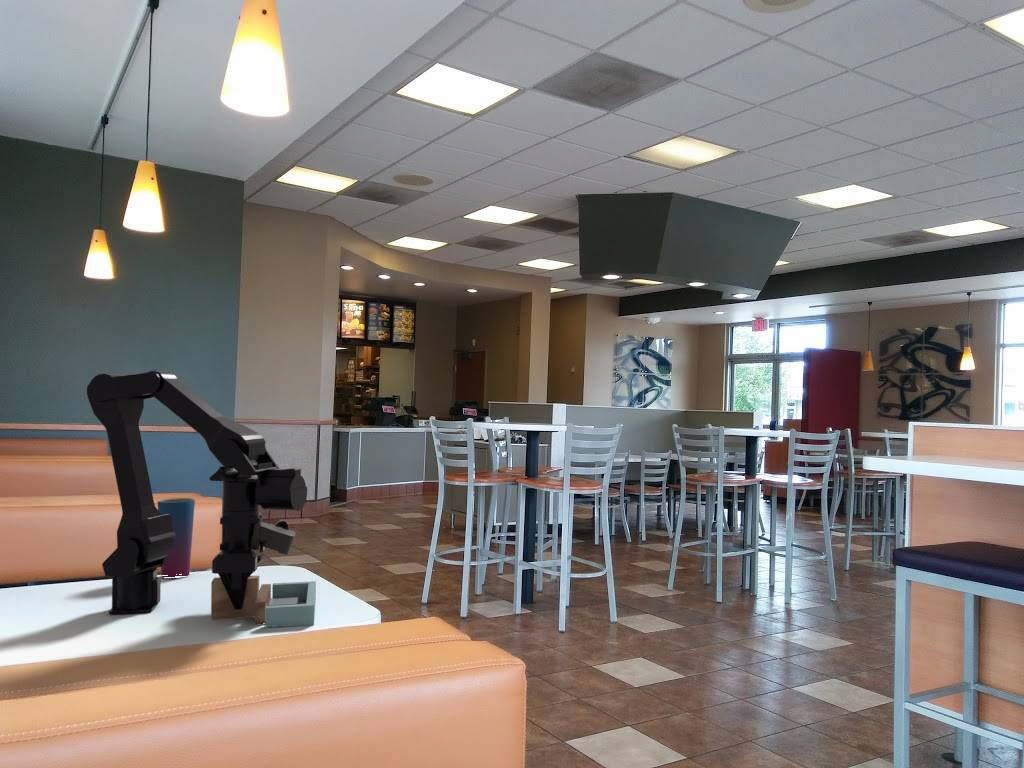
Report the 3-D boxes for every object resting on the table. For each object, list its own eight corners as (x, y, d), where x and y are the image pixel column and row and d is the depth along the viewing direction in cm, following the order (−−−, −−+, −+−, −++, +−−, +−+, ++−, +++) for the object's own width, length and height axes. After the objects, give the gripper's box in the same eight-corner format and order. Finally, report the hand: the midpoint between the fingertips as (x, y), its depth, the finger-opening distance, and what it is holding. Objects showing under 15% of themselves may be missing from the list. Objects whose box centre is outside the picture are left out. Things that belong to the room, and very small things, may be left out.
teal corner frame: (265, 627, 117) (265, 608, 117) (272, 600, 133) (273, 583, 133) (313, 624, 119) (314, 605, 119) (315, 598, 135) (315, 581, 135)
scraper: (206, 628, 117) (207, 588, 118) (217, 607, 129) (218, 571, 129) (264, 624, 119) (265, 585, 119) (270, 604, 131) (270, 569, 131)
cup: (168, 582, 147) (168, 503, 147) (149, 577, 151) (150, 500, 151) (201, 575, 152) (201, 499, 153) (182, 570, 156) (183, 497, 157)
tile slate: (268, 614, 126) (268, 605, 126) (270, 607, 131) (270, 598, 131) (297, 612, 127) (297, 603, 127) (298, 605, 132) (298, 596, 132)
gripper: (289, 516, 117) (288, 618, 117) (295, 500, 135) (294, 589, 135) (212, 518, 115) (210, 623, 114) (228, 502, 133) (227, 593, 133)
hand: (239, 606), depth 124 cm, fingers open, 4 cm apart
